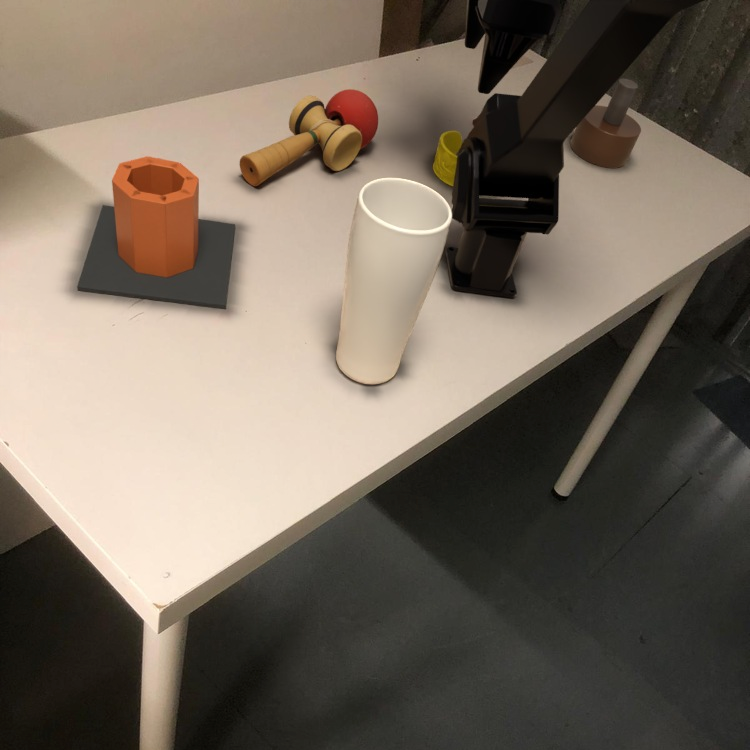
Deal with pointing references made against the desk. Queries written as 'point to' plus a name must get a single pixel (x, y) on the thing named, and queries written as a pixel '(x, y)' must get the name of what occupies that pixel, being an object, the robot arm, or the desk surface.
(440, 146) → the bracelet
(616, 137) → the stand
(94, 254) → the mat
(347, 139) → the kendama
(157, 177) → the orange hollow octagonal prism
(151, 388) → the desk surface
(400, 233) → the drinking glass
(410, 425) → the desk surface
